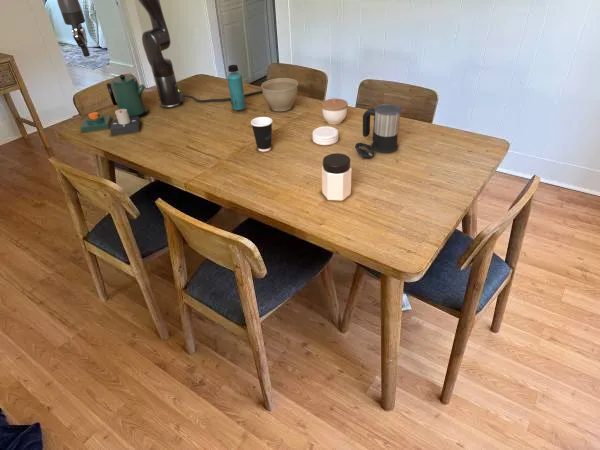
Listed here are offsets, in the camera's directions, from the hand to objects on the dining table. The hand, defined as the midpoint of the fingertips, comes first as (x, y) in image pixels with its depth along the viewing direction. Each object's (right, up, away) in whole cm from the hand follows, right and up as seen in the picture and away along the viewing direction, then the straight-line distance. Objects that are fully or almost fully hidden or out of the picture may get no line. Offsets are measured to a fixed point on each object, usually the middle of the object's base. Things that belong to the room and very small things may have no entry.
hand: (87, 56), depth 170 cm
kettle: (+12, -19, +18) cm, 29 cm away
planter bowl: (+80, -17, +16) cm, 83 cm away
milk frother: (+116, -43, -21) cm, 126 cm away
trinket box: (+103, -27, +1) cm, 106 cm away
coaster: (+98, -37, -12) cm, 106 cm away
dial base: (+14, -29, +6) cm, 33 cm away
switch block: (-1, -26, +10) cm, 28 cm away
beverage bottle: (+61, -19, +16) cm, 66 cm away
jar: (+100, -60, -42) cm, 124 cm away
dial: (+14, -27, +4) cm, 30 cm away
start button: (-1, -24, +8) cm, 25 cm away
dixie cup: (+75, -41, -15) cm, 87 cm away
